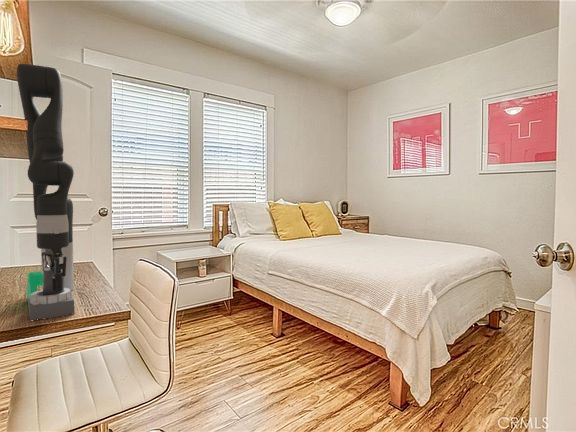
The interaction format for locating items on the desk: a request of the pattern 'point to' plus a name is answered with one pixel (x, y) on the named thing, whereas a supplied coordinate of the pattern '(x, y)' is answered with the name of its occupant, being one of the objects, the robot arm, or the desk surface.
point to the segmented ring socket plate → (50, 304)
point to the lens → (49, 283)
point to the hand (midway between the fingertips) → (54, 289)
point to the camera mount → (34, 282)
